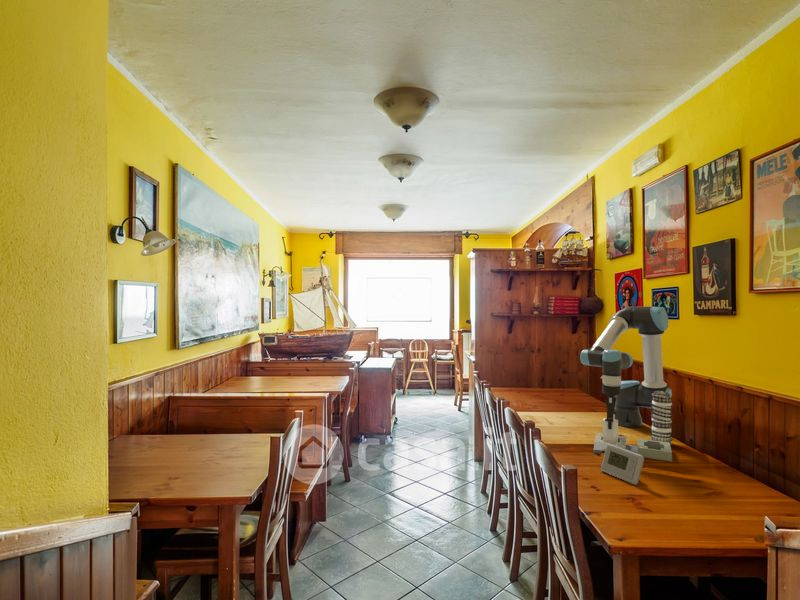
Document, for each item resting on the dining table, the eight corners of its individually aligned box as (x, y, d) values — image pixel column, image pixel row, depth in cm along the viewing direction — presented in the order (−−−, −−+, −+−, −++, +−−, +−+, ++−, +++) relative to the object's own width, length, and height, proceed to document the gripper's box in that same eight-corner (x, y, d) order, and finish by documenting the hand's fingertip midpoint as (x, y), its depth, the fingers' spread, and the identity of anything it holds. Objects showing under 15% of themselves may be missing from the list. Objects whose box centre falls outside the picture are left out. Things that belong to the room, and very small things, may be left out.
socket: (593, 449, 202) (594, 441, 202) (596, 440, 216) (596, 432, 216) (625, 454, 197) (625, 446, 197) (626, 444, 210) (626, 436, 210)
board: (593, 453, 202) (593, 449, 202) (595, 443, 216) (595, 440, 216) (672, 465, 189) (672, 461, 189) (670, 454, 202) (670, 450, 202)
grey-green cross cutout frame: (637, 456, 195) (637, 447, 195) (637, 446, 208) (637, 438, 208) (671, 461, 189) (671, 452, 189) (669, 450, 202) (669, 442, 202)
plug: (602, 447, 206) (603, 413, 205) (603, 444, 210) (603, 411, 209) (617, 449, 203) (618, 415, 203) (617, 446, 207) (618, 413, 207)
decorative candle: (671, 450, 207) (672, 394, 207) (648, 446, 213) (649, 392, 213) (674, 445, 215) (675, 391, 214) (651, 441, 220) (652, 389, 220)
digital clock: (598, 470, 182) (598, 443, 182) (618, 469, 184) (618, 442, 184) (627, 487, 166) (628, 457, 166) (648, 485, 168) (649, 456, 168)
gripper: (603, 379, 219) (603, 424, 219) (600, 388, 197) (599, 438, 197) (621, 381, 215) (620, 426, 216) (619, 390, 193) (618, 441, 193)
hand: (610, 432), depth 206 cm, fingers open, 13 cm apart
